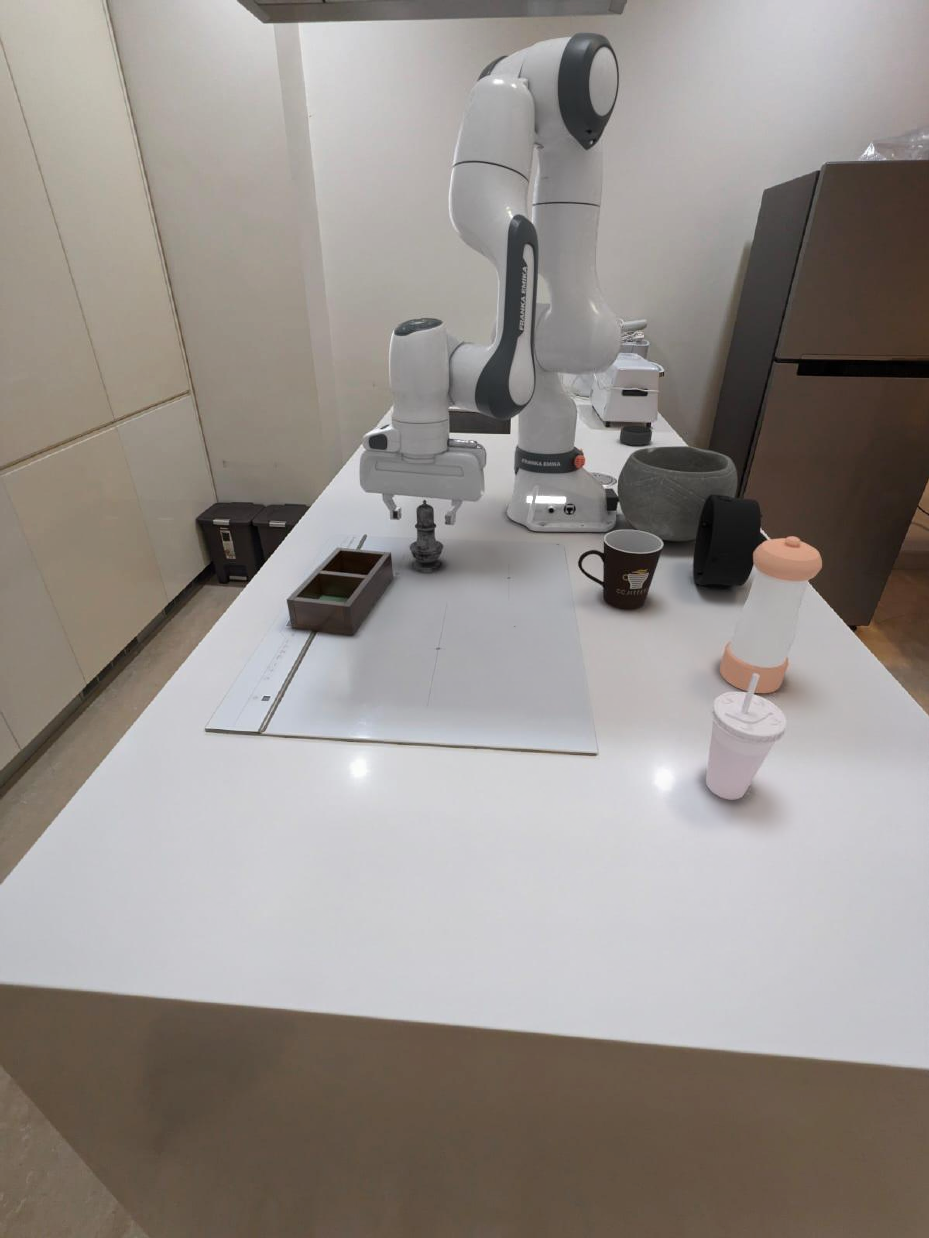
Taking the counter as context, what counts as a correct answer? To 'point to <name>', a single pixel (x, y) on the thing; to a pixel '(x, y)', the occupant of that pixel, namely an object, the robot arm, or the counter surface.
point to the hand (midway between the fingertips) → (423, 521)
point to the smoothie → (741, 739)
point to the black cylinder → (726, 541)
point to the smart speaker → (635, 435)
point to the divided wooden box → (341, 591)
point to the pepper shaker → (770, 614)
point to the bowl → (672, 488)
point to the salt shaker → (426, 541)
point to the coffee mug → (627, 567)
